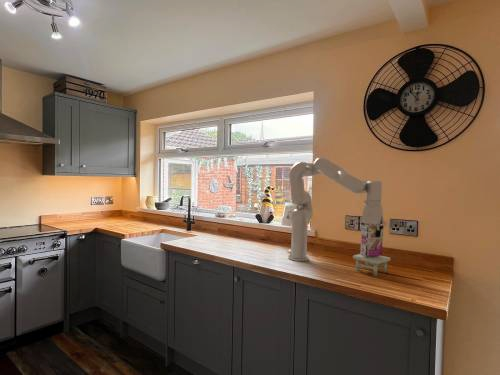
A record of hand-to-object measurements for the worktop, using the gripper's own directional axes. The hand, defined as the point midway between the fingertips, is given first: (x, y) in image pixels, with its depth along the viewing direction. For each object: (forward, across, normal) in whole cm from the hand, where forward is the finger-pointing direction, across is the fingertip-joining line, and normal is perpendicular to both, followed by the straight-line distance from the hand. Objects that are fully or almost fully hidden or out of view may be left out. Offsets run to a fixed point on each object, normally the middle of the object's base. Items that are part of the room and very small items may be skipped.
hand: (372, 236), depth 162 cm
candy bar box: (+11, 0, 0) cm, 11 cm away
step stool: (+19, 0, 0) cm, 19 cm away
